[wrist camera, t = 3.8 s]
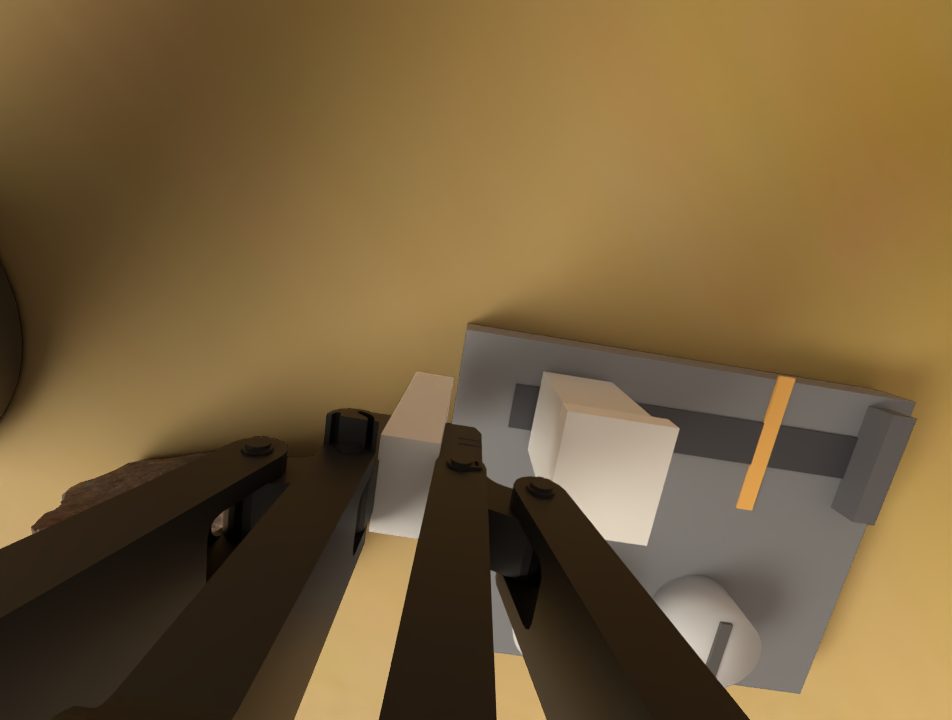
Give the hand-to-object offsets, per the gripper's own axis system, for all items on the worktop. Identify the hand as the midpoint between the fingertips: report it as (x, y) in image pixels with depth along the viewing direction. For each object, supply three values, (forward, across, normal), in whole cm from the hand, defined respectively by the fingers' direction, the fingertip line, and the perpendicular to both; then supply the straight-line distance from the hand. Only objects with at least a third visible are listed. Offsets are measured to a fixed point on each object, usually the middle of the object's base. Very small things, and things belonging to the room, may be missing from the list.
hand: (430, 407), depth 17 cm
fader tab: (+2, +6, 0) cm, 6 cm away
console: (+4, +11, -5) cm, 13 cm away
